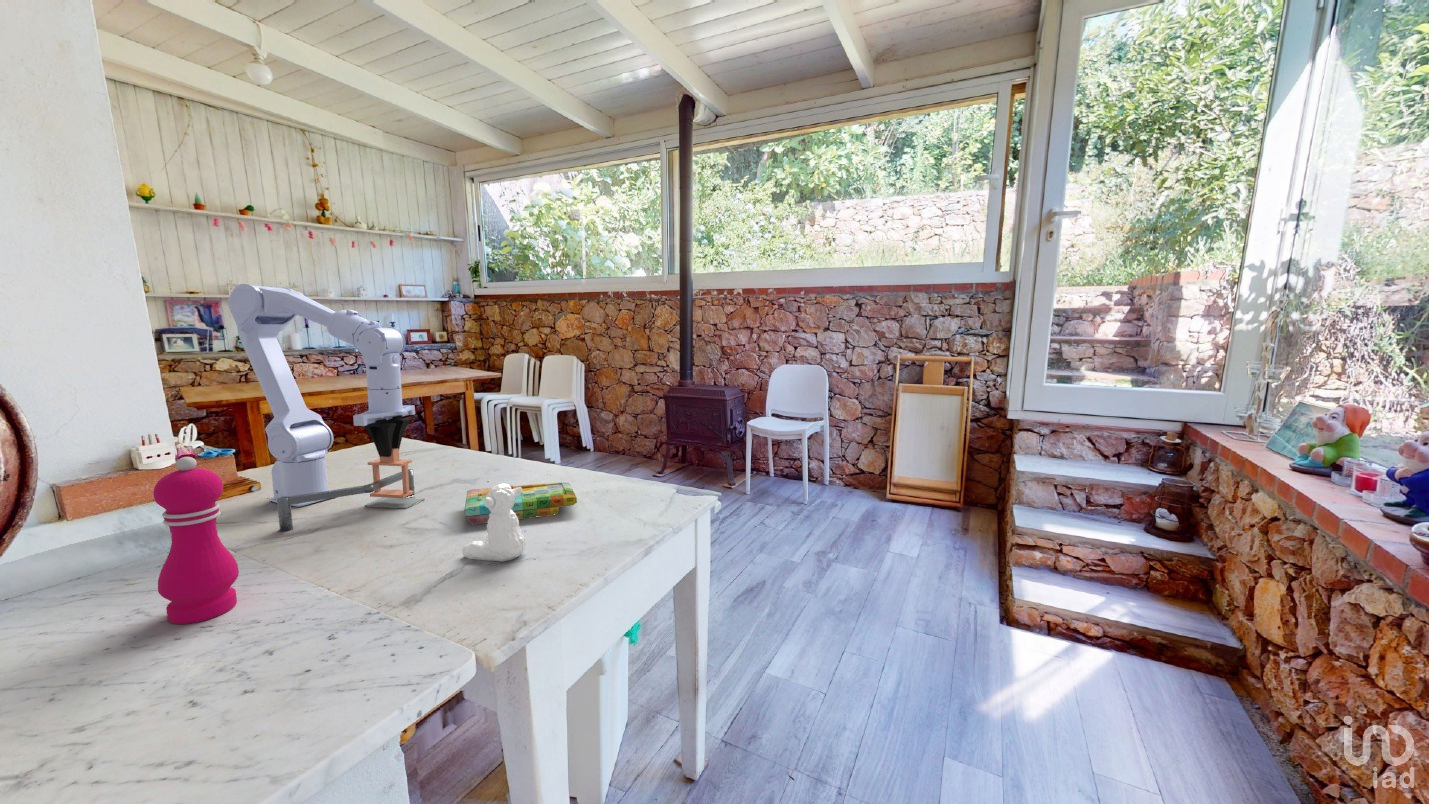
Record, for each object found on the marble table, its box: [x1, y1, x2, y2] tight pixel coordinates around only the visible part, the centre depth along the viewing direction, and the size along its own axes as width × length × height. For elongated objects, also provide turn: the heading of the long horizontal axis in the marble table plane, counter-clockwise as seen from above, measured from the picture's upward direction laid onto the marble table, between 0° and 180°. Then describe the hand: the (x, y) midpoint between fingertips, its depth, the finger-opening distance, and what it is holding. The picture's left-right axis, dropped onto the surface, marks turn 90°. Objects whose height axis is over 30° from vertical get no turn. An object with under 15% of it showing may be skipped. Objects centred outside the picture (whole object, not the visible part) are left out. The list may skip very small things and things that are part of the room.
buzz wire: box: [276, 468, 415, 533], centre depth 101 cm, size 8×24×6 cm, turn 160°
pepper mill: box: [152, 456, 240, 625], centre depth 64 cm, size 7×7×20 cm
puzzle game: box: [464, 481, 578, 525], centre depth 103 cm, size 12×5×20 cm
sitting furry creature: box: [461, 482, 526, 563], centre depth 83 cm, size 10×9×12 cm
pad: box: [364, 497, 424, 510], centre depth 107 cm, size 6×9×1 cm, turn 85°
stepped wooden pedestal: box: [366, 448, 415, 498], centre depth 105 cm, size 3×7×10 cm, turn 85°
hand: (388, 455), depth 104 cm, fingers closed on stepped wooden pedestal, 2 cm apart
